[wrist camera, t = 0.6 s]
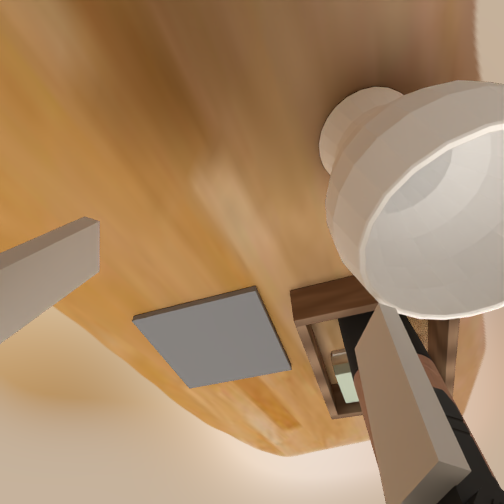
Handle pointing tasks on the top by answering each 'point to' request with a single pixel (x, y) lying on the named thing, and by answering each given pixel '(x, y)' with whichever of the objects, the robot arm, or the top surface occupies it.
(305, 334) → the brown wooden tray
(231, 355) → the charcoal mat
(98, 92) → the top surface
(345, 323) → the travel mug
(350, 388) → the top offcut
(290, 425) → the top surface
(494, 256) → the cup
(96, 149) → the top surface
